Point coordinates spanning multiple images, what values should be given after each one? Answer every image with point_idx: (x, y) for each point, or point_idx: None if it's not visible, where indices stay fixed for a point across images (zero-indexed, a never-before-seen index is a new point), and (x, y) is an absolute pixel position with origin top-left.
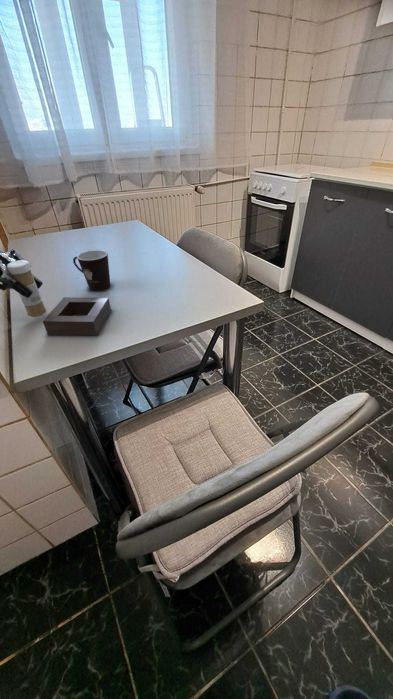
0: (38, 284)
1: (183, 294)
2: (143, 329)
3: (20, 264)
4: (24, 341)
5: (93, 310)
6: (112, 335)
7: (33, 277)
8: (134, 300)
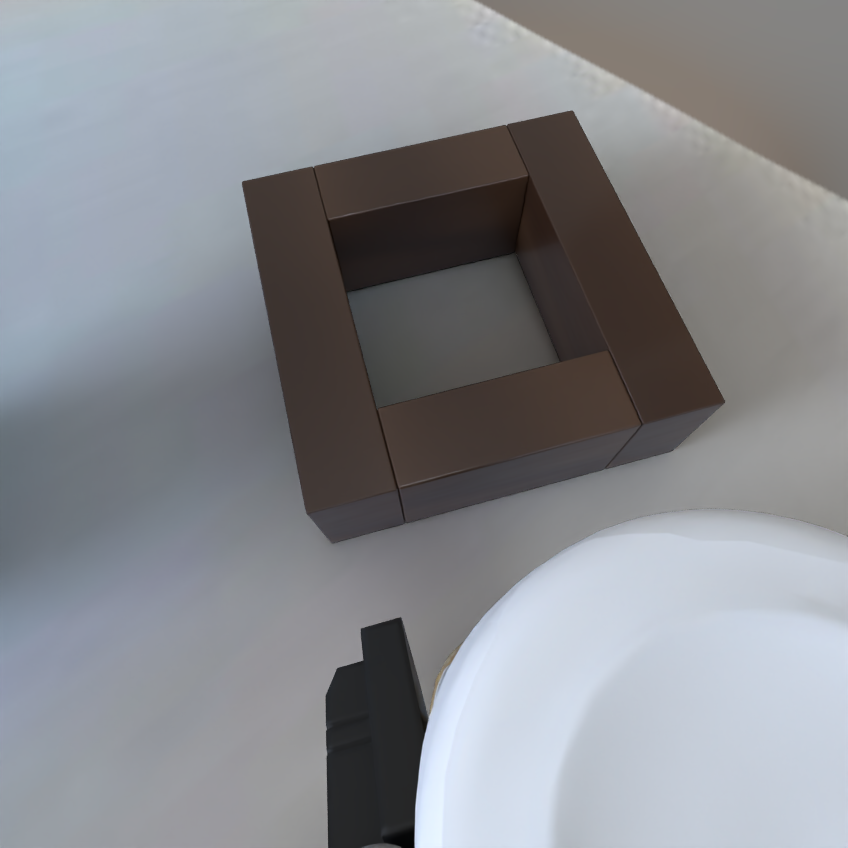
0: (413, 664)
1: (18, 18)
2: (416, 49)
3: (840, 607)
4: None
5: (448, 173)
6: None
7: (416, 717)
8: (111, 201)
